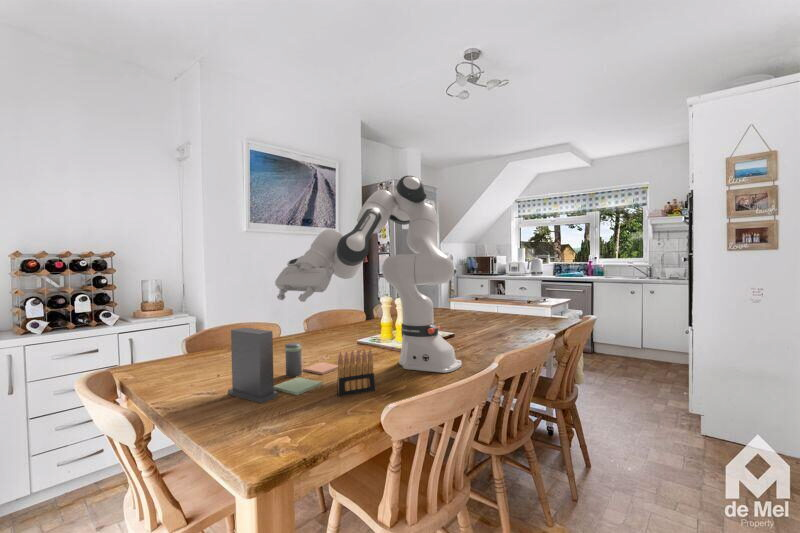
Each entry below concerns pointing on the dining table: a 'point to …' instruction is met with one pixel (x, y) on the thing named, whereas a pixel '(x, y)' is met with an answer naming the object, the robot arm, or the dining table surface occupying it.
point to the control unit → (252, 364)
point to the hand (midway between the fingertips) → (290, 299)
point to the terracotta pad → (321, 368)
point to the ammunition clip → (355, 374)
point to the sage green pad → (297, 386)
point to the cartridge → (293, 359)
